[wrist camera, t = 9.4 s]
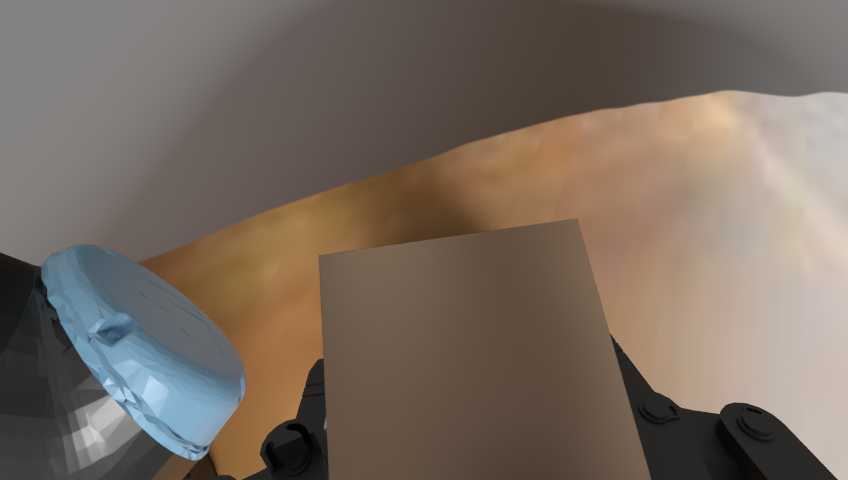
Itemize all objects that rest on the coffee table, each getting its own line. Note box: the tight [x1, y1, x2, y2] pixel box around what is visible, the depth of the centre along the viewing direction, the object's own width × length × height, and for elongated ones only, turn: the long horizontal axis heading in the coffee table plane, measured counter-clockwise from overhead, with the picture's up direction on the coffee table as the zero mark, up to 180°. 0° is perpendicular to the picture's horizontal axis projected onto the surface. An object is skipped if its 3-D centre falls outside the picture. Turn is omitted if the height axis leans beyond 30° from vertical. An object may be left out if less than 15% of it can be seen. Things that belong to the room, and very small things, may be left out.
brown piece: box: [319, 219, 651, 480], centre depth 13 cm, size 6×6×12 cm
